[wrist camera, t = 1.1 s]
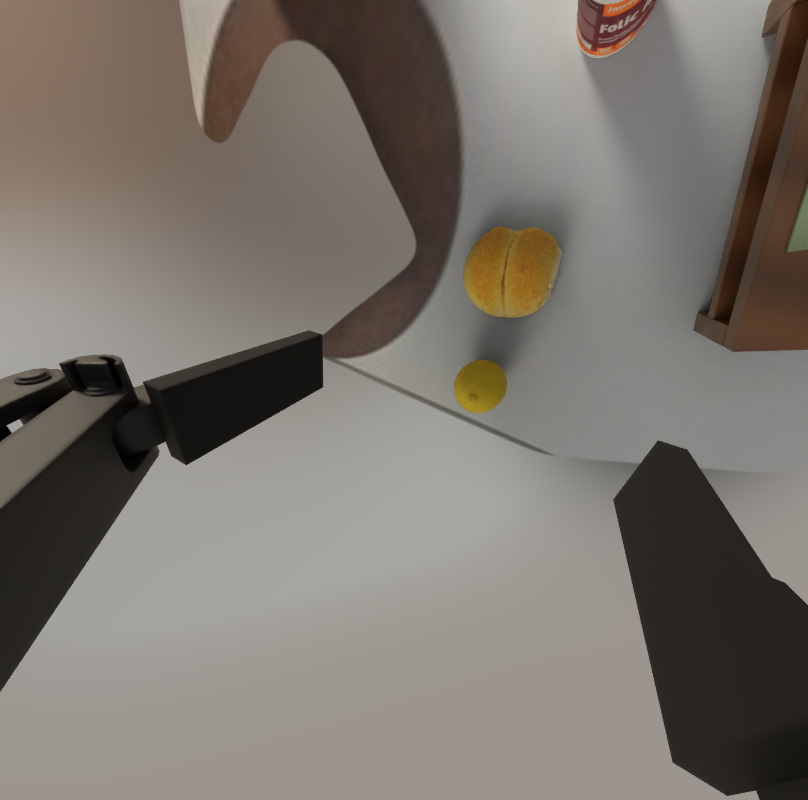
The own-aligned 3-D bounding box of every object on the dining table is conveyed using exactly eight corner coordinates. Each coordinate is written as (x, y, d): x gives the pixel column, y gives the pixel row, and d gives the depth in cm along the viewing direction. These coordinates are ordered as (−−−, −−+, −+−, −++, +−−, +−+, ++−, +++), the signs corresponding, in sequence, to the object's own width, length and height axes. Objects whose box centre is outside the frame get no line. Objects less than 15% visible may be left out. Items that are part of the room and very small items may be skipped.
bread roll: (473, 227, 29) (463, 223, 26) (570, 230, 26) (571, 226, 23) (461, 310, 33) (451, 315, 30) (544, 321, 30) (542, 329, 27)
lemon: (520, 366, 33) (511, 393, 26) (496, 402, 36) (482, 434, 30) (478, 343, 34) (459, 364, 27) (457, 380, 37) (436, 406, 31)
